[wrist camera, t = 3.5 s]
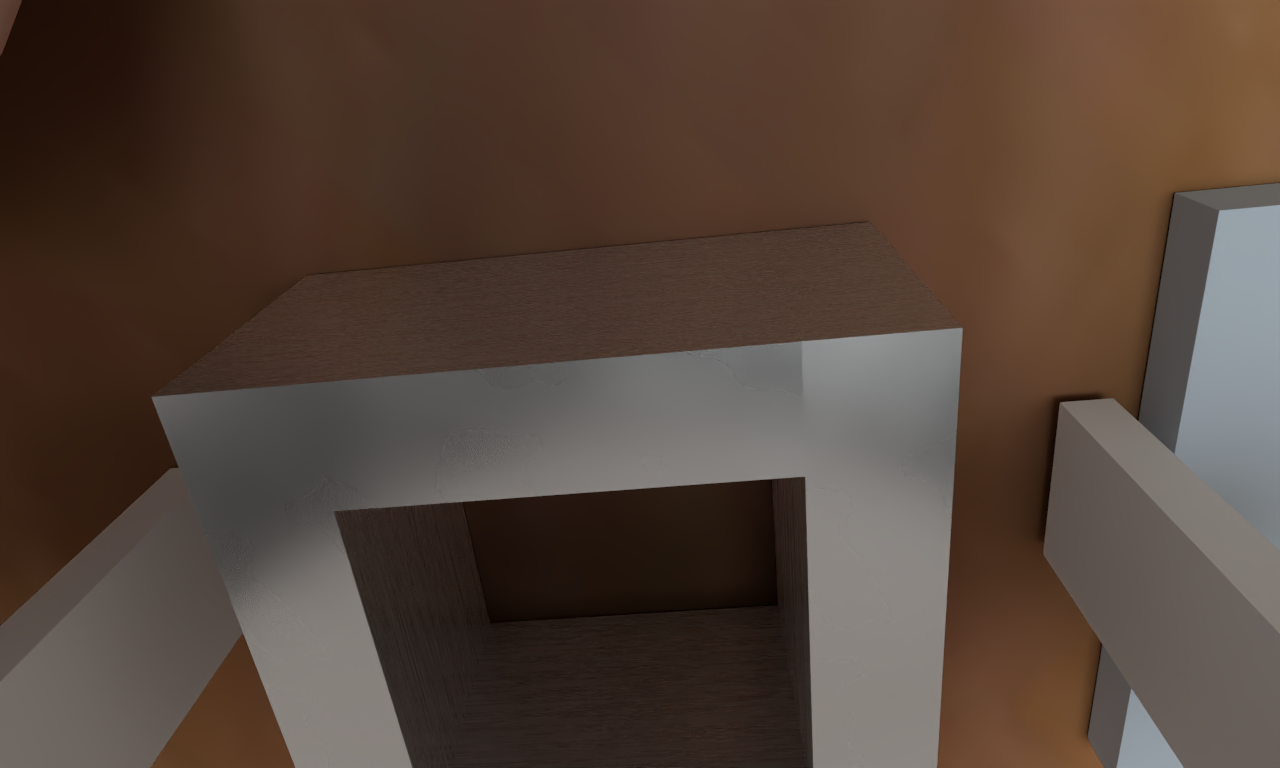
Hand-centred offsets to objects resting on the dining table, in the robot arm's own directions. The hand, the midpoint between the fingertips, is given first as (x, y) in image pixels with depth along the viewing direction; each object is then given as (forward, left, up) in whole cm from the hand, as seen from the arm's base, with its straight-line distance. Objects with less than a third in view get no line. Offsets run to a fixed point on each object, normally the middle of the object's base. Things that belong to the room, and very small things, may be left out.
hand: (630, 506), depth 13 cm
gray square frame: (0, 0, 0) cm, 0 cm away
